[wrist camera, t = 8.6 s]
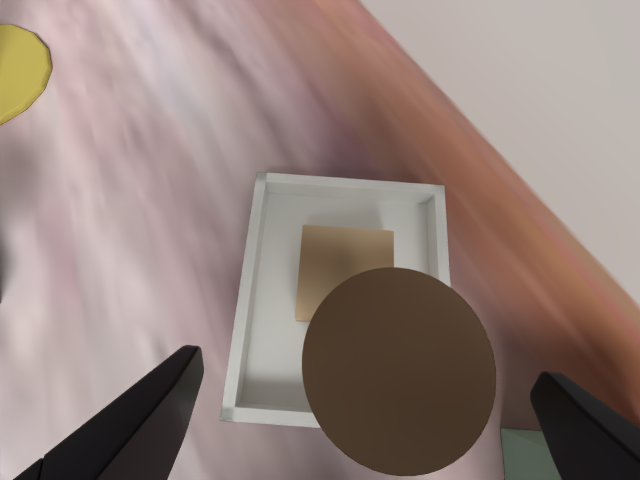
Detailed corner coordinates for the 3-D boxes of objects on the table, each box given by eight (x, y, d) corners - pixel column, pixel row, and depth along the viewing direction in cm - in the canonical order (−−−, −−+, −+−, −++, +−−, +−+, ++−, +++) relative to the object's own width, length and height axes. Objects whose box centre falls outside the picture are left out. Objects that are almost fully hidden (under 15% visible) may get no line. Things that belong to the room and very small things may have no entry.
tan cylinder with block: (385, 389, 17) (557, 486, 5) (291, 383, 17) (242, 465, 5) (385, 242, 20) (499, 78, 8) (303, 236, 20) (290, 64, 8)
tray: (439, 425, 18) (459, 438, 15) (232, 410, 18) (219, 420, 15) (429, 203, 22) (444, 185, 19) (262, 191, 22) (256, 171, 19)
